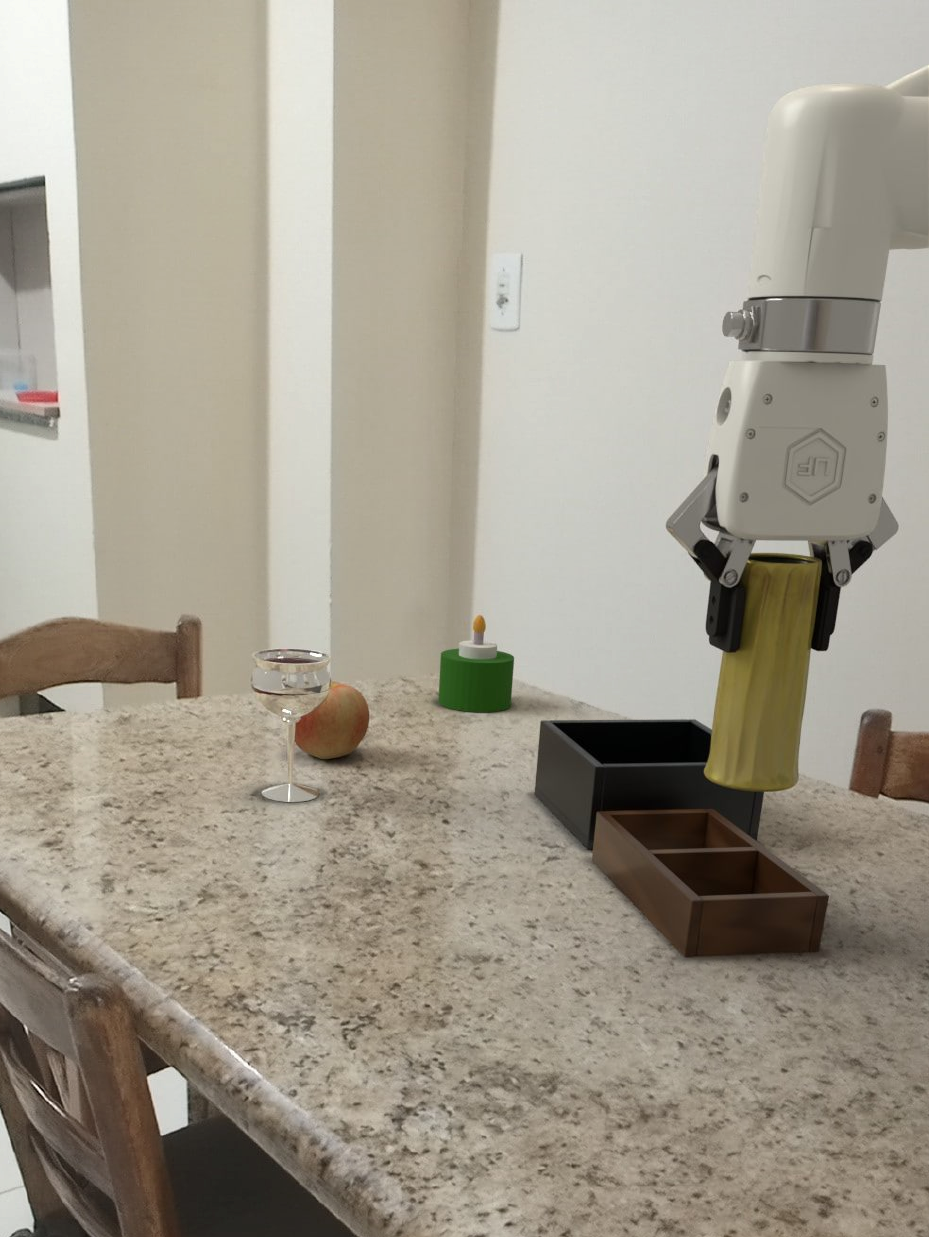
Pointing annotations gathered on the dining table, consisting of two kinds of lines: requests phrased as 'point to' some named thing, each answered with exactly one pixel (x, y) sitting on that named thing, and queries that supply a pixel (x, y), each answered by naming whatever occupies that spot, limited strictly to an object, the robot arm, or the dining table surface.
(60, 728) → the dining table surface
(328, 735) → the apple
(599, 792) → the black open box
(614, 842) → the divided wooden tray
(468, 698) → the candle
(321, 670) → the wineglass
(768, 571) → the vase
